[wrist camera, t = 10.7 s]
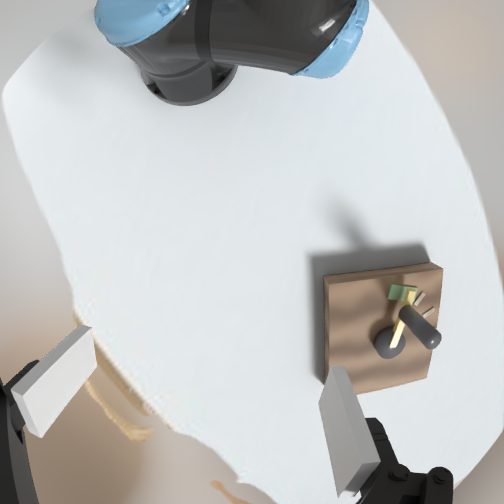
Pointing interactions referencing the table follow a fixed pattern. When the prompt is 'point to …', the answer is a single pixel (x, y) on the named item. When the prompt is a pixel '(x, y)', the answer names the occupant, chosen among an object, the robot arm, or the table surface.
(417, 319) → the dark grey lever
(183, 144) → the table surface
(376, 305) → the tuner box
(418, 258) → the table surface
